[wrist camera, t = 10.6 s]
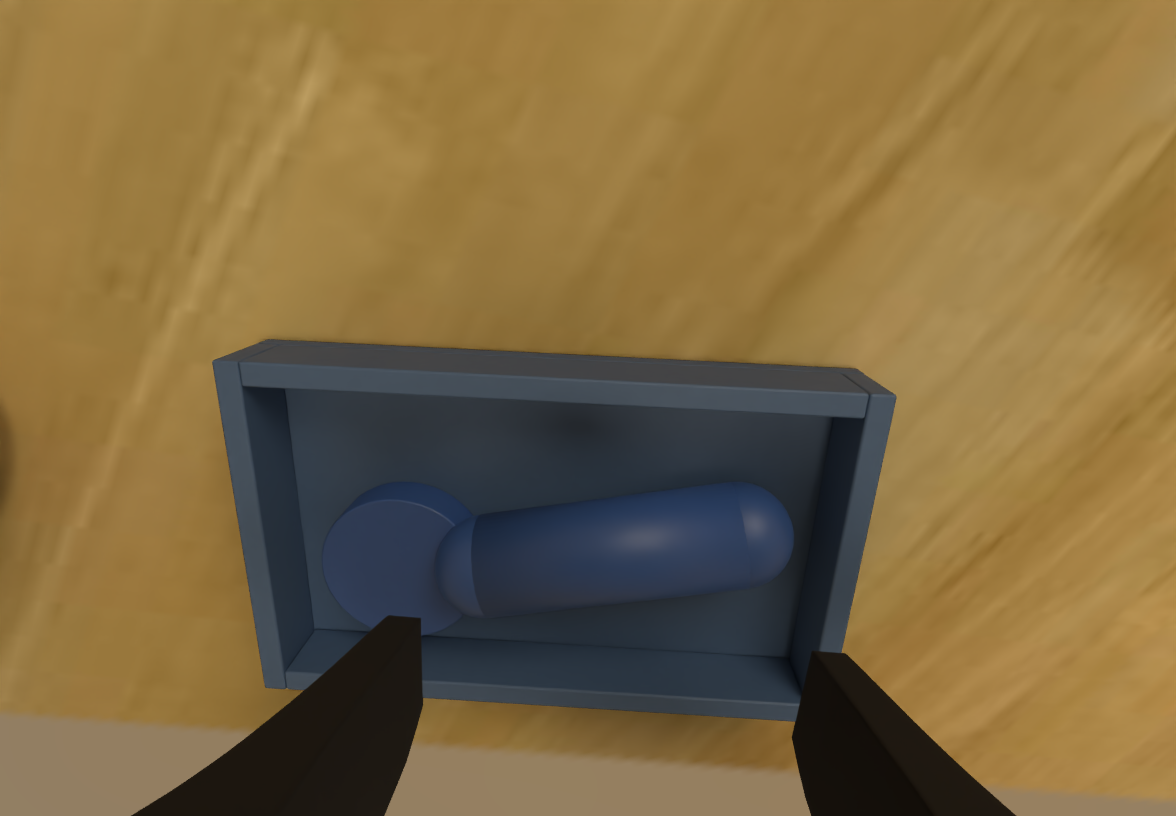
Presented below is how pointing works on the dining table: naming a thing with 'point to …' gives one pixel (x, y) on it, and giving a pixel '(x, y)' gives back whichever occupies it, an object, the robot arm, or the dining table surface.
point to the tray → (548, 477)
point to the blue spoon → (548, 552)
